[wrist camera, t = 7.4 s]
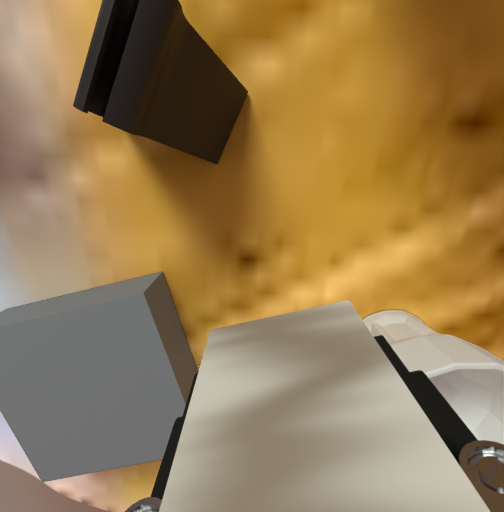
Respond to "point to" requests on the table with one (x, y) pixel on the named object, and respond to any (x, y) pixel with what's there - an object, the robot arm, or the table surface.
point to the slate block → (95, 376)
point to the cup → (449, 369)
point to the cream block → (309, 426)
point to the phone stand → (159, 78)
